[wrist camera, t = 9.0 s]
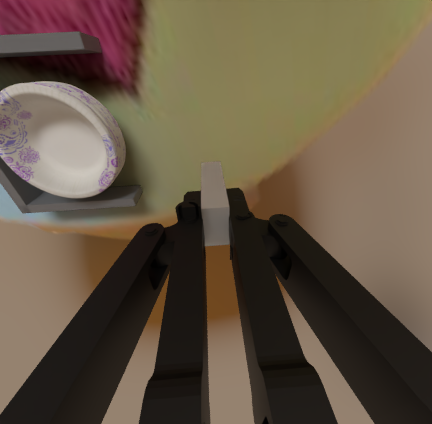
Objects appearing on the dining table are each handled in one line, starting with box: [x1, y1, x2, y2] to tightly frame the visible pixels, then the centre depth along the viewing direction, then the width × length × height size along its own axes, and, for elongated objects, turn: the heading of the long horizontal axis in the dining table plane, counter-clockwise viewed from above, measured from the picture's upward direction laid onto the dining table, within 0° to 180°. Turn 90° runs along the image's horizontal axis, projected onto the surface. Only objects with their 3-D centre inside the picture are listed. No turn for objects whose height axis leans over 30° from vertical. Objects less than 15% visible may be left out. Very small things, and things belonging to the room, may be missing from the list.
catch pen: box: [0, 32, 142, 213], centre depth 30 cm, size 23×20×5 cm
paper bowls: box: [0, 81, 126, 198], centre depth 30 cm, size 15×15×8 cm
